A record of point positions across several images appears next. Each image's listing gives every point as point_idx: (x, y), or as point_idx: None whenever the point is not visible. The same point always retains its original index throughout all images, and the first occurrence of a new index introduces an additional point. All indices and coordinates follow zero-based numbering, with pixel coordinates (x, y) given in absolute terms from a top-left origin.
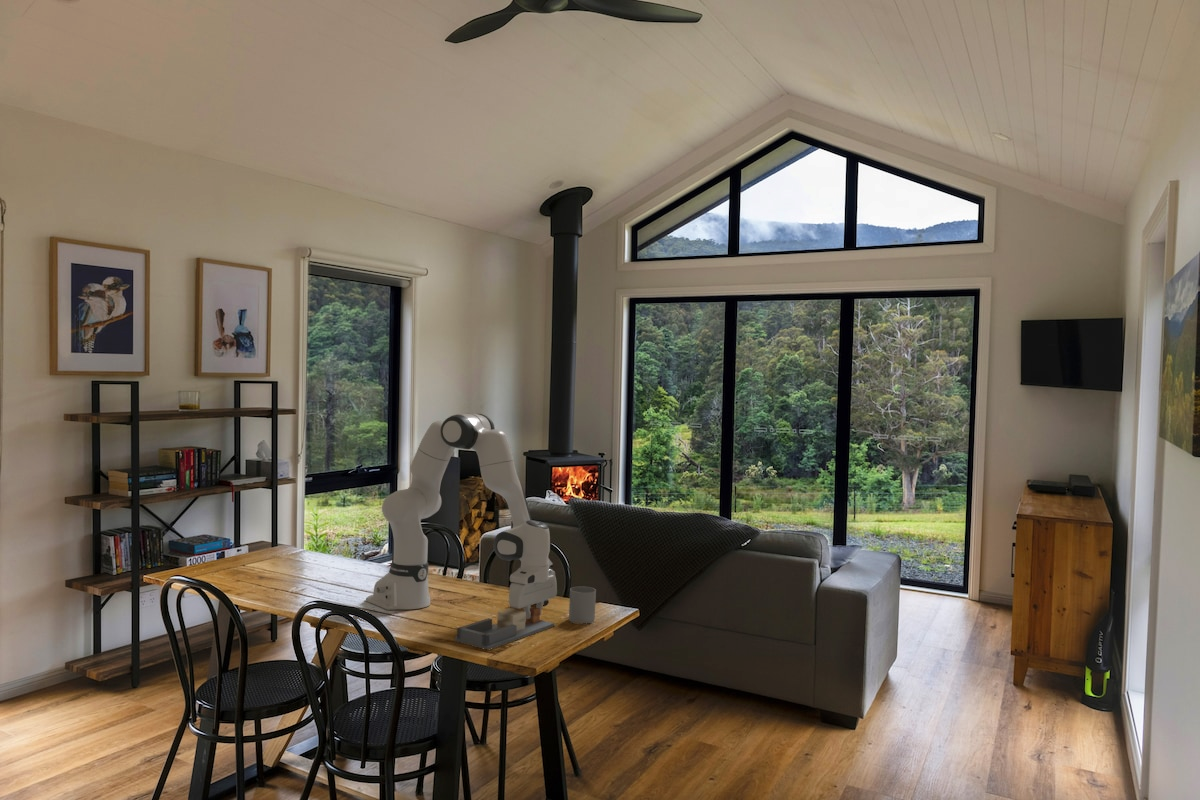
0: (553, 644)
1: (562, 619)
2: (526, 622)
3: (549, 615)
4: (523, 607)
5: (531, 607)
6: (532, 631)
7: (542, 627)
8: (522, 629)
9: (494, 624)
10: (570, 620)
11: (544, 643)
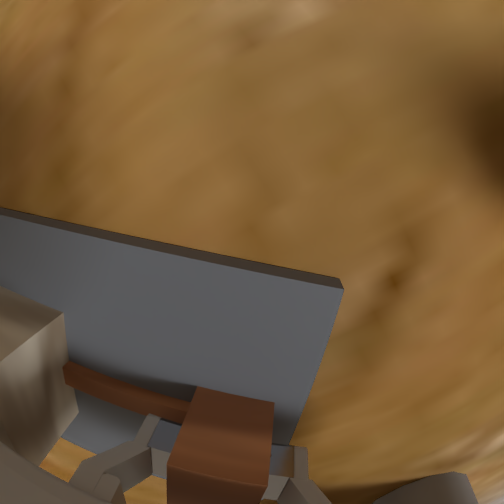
0: None
1: (412, 466)
2: (138, 411)
3: (476, 390)
4: (80, 469)
5: (234, 485)
6: (77, 444)
7: (154, 475)
8: None
9: (8, 217)
10: (383, 501)
11: (57, 470)
